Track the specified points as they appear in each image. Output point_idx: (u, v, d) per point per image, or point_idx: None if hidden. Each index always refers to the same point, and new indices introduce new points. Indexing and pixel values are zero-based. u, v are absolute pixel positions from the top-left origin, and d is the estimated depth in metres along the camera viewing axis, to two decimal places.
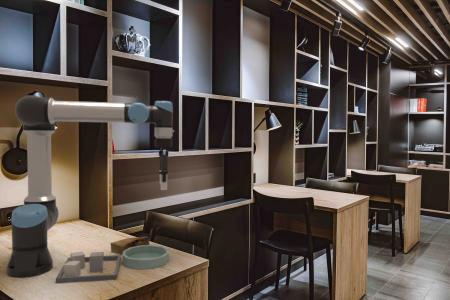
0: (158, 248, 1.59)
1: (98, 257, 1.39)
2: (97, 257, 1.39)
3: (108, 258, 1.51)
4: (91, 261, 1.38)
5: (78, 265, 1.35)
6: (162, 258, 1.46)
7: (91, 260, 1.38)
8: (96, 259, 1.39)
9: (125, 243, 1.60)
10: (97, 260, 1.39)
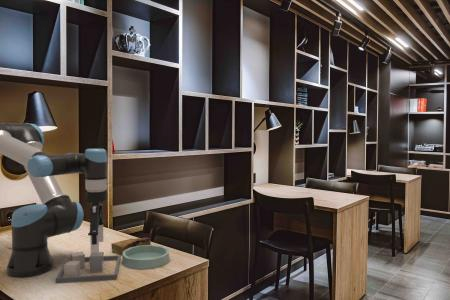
0: (158, 248, 1.59)
1: (98, 257, 1.39)
2: (97, 257, 1.39)
3: (108, 258, 1.51)
4: (91, 261, 1.38)
5: (78, 265, 1.35)
6: (162, 258, 1.46)
7: (91, 260, 1.38)
8: (96, 259, 1.39)
9: (126, 244, 1.59)
10: (97, 260, 1.39)
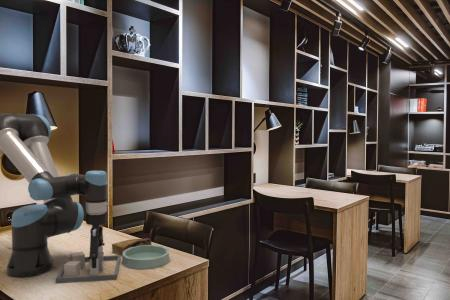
0: (158, 248, 1.59)
1: (98, 257, 1.39)
2: None
3: (108, 258, 1.51)
4: None
5: (78, 265, 1.35)
6: (162, 258, 1.46)
7: None
8: None
9: (126, 244, 1.58)
10: None
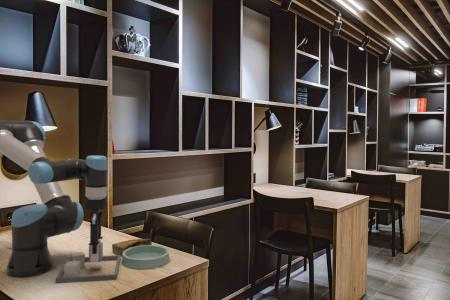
0: (158, 248, 1.59)
1: None
2: None
3: (108, 258, 1.51)
4: (90, 251, 1.38)
5: (78, 265, 1.35)
6: (162, 258, 1.46)
7: (90, 250, 1.38)
8: None
9: (126, 245, 1.58)
10: None
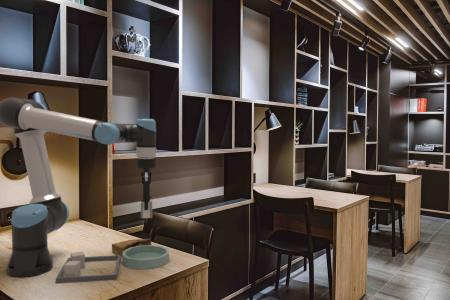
0: (158, 248, 1.59)
1: None
2: None
3: (108, 258, 1.51)
4: (142, 208, 1.48)
5: (78, 265, 1.35)
6: (162, 258, 1.46)
7: (142, 207, 1.48)
8: None
9: (125, 245, 1.58)
10: None
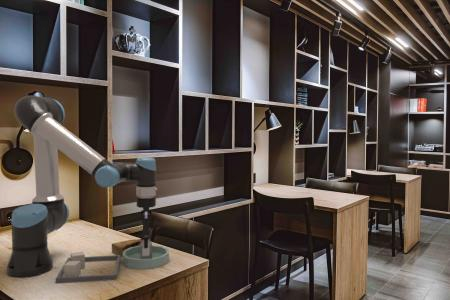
0: (158, 248, 1.59)
1: None
2: None
3: (108, 258, 1.51)
4: None
5: (78, 265, 1.35)
6: (162, 258, 1.46)
7: None
8: None
9: (124, 245, 1.58)
10: None
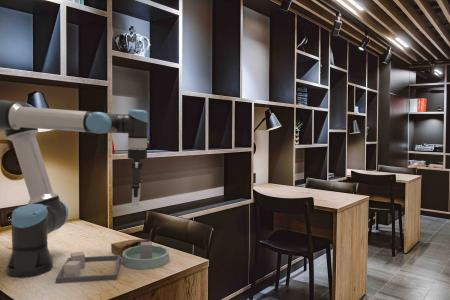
0: (158, 248, 1.59)
1: (148, 246, 1.49)
2: (147, 246, 1.49)
3: (108, 258, 1.51)
4: (142, 250, 1.49)
5: (78, 265, 1.35)
6: (162, 258, 1.46)
7: (142, 249, 1.49)
8: (147, 247, 1.49)
9: (124, 245, 1.58)
10: (148, 249, 1.49)
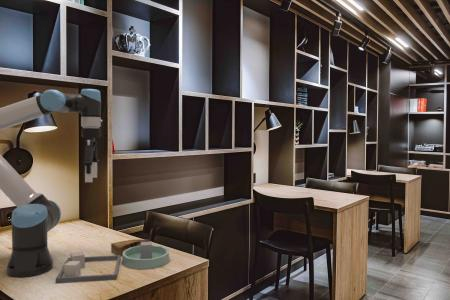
0: (158, 248, 1.59)
1: (148, 246, 1.49)
2: (147, 246, 1.49)
3: (108, 258, 1.51)
4: (142, 250, 1.49)
5: (78, 265, 1.35)
6: (162, 258, 1.46)
7: (142, 249, 1.49)
8: (147, 247, 1.49)
9: (123, 245, 1.58)
10: (148, 249, 1.49)
